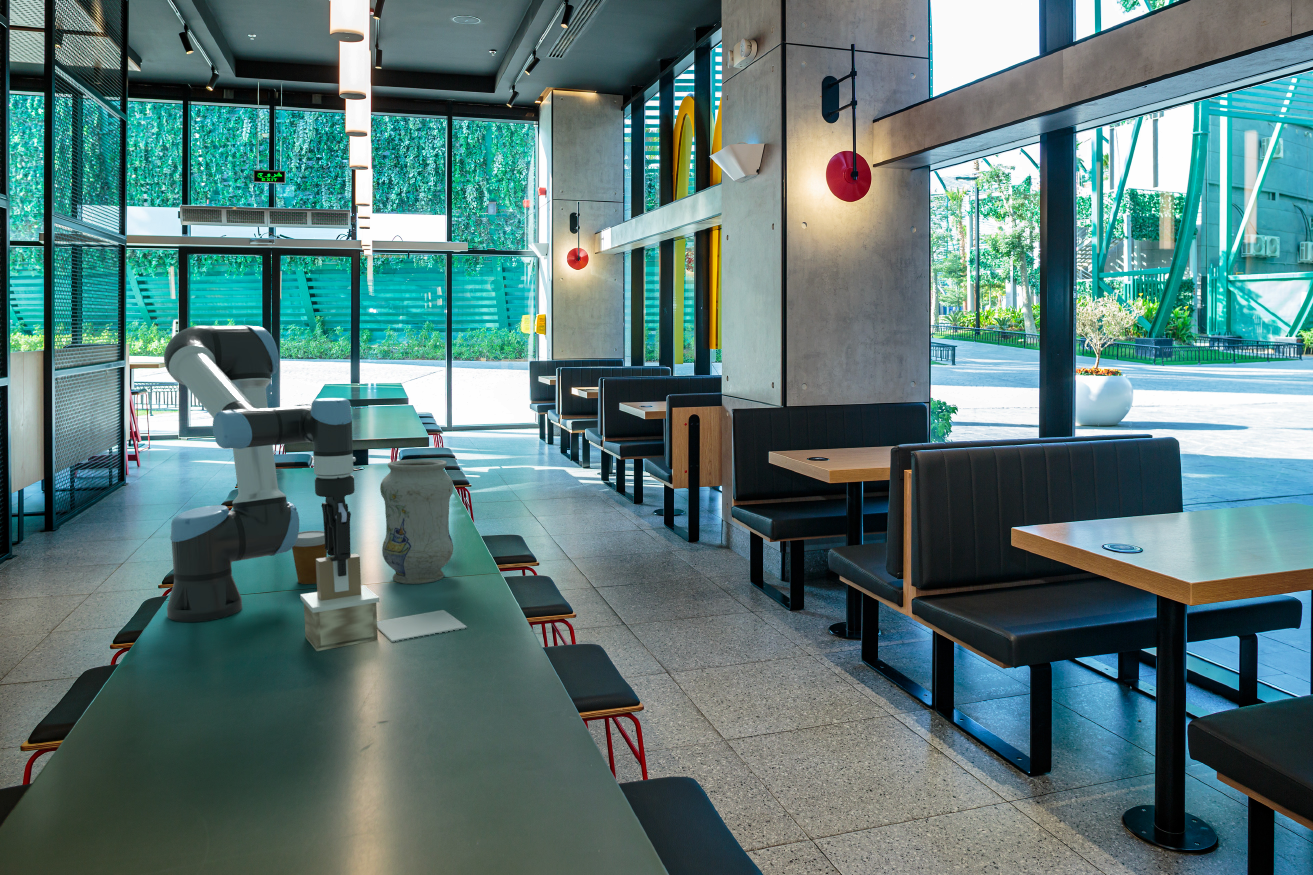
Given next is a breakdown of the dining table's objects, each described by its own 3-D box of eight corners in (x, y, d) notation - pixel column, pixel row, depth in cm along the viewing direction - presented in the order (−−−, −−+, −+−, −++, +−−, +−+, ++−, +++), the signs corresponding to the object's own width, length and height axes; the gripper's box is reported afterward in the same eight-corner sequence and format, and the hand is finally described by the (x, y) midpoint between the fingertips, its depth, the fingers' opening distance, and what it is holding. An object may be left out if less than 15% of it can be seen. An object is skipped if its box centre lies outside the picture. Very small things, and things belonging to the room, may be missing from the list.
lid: (313, 620, 180) (310, 567, 179) (300, 606, 189) (298, 556, 188) (379, 609, 187) (377, 558, 186) (364, 596, 196) (362, 548, 195)
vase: (427, 564, 248) (423, 454, 244) (470, 575, 237) (467, 460, 233) (369, 578, 234) (364, 462, 231) (411, 591, 223) (407, 469, 219)
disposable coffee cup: (318, 586, 227) (315, 539, 225) (283, 584, 229) (281, 537, 227) (338, 576, 236) (336, 531, 235) (305, 574, 238) (303, 529, 237)
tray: (392, 642, 186) (391, 640, 186) (372, 623, 198) (372, 622, 198) (466, 628, 195) (466, 626, 195) (443, 611, 207) (443, 609, 207)
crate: (316, 651, 181) (315, 611, 180) (305, 637, 190) (303, 599, 189) (377, 639, 188) (376, 601, 187) (364, 626, 196) (362, 590, 195)
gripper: (364, 478, 180) (368, 595, 183) (343, 468, 194) (347, 577, 196) (324, 482, 176) (330, 601, 179) (305, 471, 190) (310, 582, 192)
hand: (339, 588), depth 188 cm, fingers closed on lid, 3 cm apart
